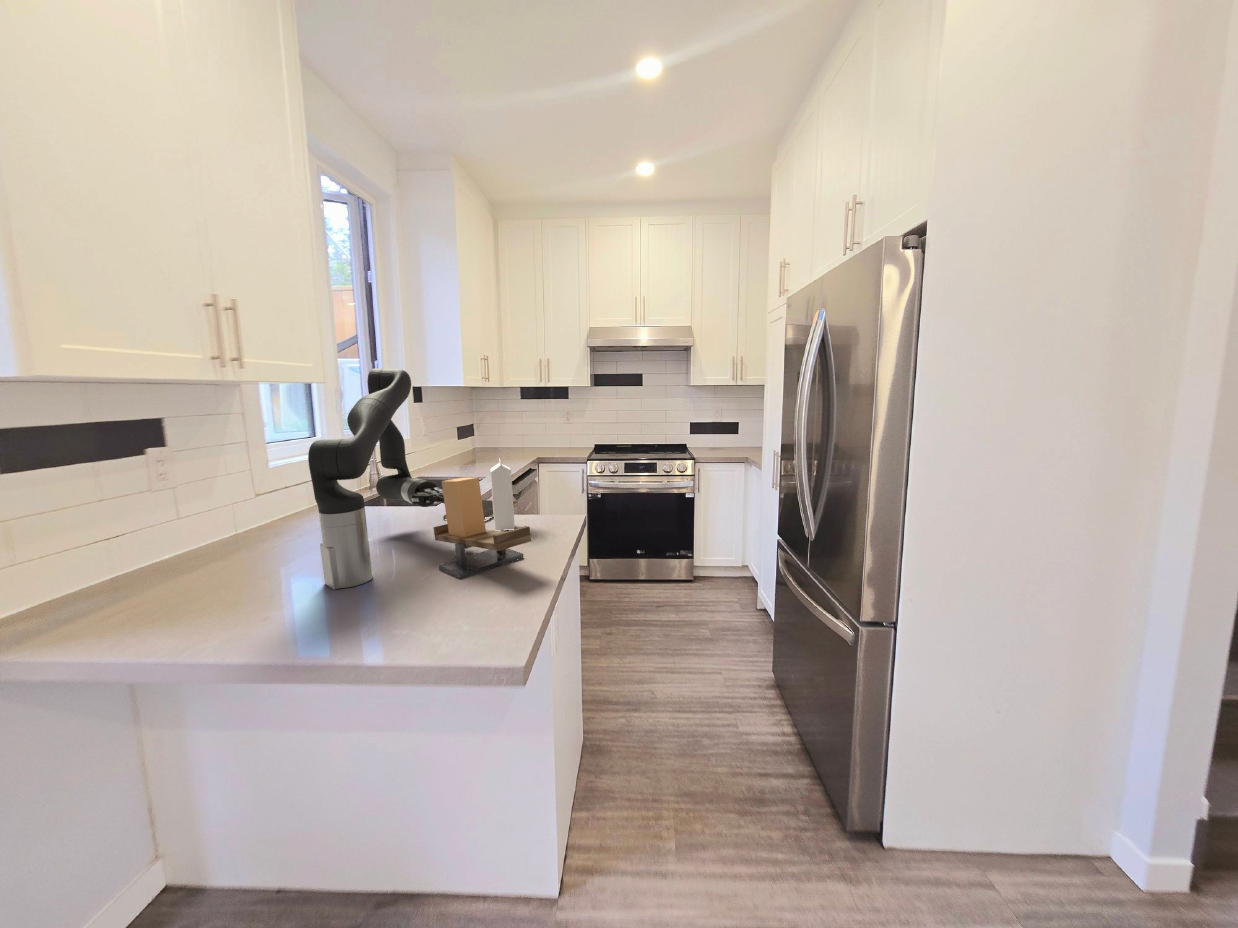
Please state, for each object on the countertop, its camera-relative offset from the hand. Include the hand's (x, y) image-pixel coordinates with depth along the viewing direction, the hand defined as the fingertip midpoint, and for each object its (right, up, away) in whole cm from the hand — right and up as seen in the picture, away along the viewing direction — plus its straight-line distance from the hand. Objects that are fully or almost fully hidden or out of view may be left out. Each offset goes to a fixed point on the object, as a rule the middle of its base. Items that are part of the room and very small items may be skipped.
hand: (449, 499), depth 132 cm
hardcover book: (-4, -9, +45) cm, 46 cm away
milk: (+9, -11, +24) cm, 28 cm away
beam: (+10, -10, -8) cm, 16 cm away
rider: (+6, -8, -4) cm, 11 cm away
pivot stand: (+11, -16, -7) cm, 20 cm away
